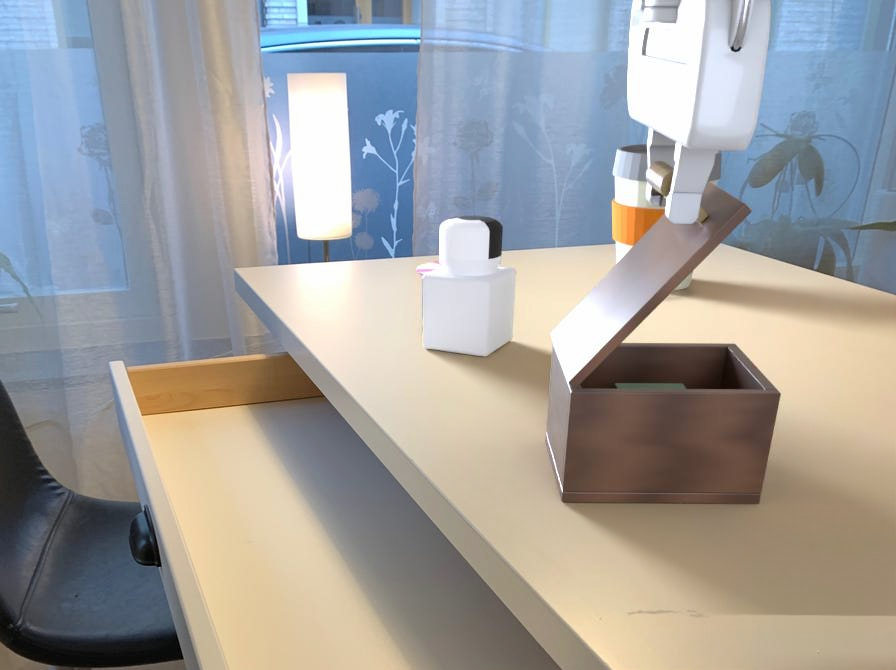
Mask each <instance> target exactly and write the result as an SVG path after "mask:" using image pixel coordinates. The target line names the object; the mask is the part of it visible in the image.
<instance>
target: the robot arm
mask: <svg viewBox="0 0 896 670" xmlns="http://www.w3.org/2000/svg"><path fill="white" fill-rule="evenodd" d="M771 8H772V5H771V1H770V0H632V5H631V12H630V26H629V42H628V43H629V46H628V62H627V63H628V64H627V88H626V89H627V90H626V91H627V109H628V114H629V117H630V118H631V119H632V120H634V121H636V122H638V123H640V124H642V125H643V126H646V127H647V128H648V134H647V142H646V144H647V155H648V168H649V166H650V165H651V164H652V163H654V162H657V161H663V162H665V163H667V164H668V165H670V166H671V167H673V168H674V174H673V179H672V184H671V189H668V194H667V198H666V197H664V196H663V195H662V194H660V193H659V192H658V191H657V190H655V189H654V188H653V187H652V186H650V185H649V184H648V183H647V191H646V200H647V201H648V202H649V203H650V204H651V205H653V206H658V207H659V206H664V207H666V208H665V215H666V217H667V218H668V219H669V220H670V221H671V222H672V223H674V224H693V223H694V222H696V221H697V219H698V216H699V210H700V204H701V198H702V193H703V191H704V189H705V186H706V183H707V181H708V178H709V176H710V173H711V171H712V168H713V166H714V161H715V155H716V151H722V152H728V151H729V152H741V151H745V150H746V149H748V147H749V145H750V143H751V141H752V139H753V137H754V134H755V131H756V128H757V125H758V119H759V113H760V107H761V100H762V94H763V87H764V80H765V74H766V73H765V72H766V65H767V57H768V50H769V49H768V48H769V42H770V32H771V16H772V15H771V14H772V9H771Z"/></svg>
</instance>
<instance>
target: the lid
mask: <svg viewBox="0 0 896 670" xmlns="http://www.w3.org/2000/svg"><path fill="white" fill-rule="evenodd" d="M673 174H674V168H673V167H671V166H670V165H668V164H667V163H665V162H663V161H657V162H654V163H652V164H651V165H650V166H649V168H648V169H647V172H646V180H647V182H648V184H649V185H650V186H652V187H653V188H654V189H655V190H657V191H658V192H659V193H660V194H662V195H663V196H664V197H666V198H667V194H668V189H671V184H672V179H673ZM751 213H752V209H751V208H750V207H749V206H748V204H746V203H745V202H743V201H742V200H741V199H738V198H737V197H735V196H734V195H732V194H730V193H729V192H727V191H725V190H724V189H722V188H721V187H719V186H718V185H717V184H716V185H714V184H712V183H711V182H709V181H707V183H706V186H705V189H704V191H703V193H702V198H701V204H700V210H699V216H698V219H697V221H696V222H694V223H693V224H674V223H672V222H671V221H670V220H669V219H668V218H667V217H666V215H665V213H664V214H663V216H662V217H661V218H660V219H659V220H658V221H657V222H656V223H655V224H654V225H653V226H652V227H651V228H650V229H649V230H648V231H647V232H646V233H645V234H644V235H643V237H642V238H641V239H640V240H639V241H638V242H637V243H636V244H635V245H634V246H633V247H632V248H631V249H630V250H629V251H628V252H627V253H626V254H625V255H624V256H623V258H622V259H621V260H620V261H619V262H618V263H617V264H615V265H614V266H613V267H612V268H611V269H610V270H608V272H607V273H606V274H605V275H604V276H603V277H602V279H600V281H598V282H597V284H596V285H594V287H593V288H592V289H591V290H590V291H589V292H587V294H586V295H585V296H584V297H583V298H582V300H581V301H579V302H578V303H577V305H576V306H574V308H573V309H572V310H571V311H570V312H569V313H568V314H567V315H566V316H565V317H564V318H563V319H562V321H560V322H559V324H558V325H556V327H555V328H554V329H553V330H552V331H551V332H550V333H549V334H550V337H551V340H552V344H553V343H554V345H555V348H556V351H557V353H558V356H559V359H560V361H561V364H562V367H563V369H564V372H565V375H566V377H567V380H568V383H569V384H570V385H571V386H572V387H574V388H575V389H576V388H577V387H578V386H579V385H580V384H581V383H582V382H583V381H584V380H585V379H586V378H587V377H588V376H589V375H590V374H591V373H592V372H593V371H594V370H595V369H596V368H597V367H598V366H599V365H600V364H601V363H602V362H603V361H604V360H605V359H606V358H607V357H608V356H609V355H610V354H611V353H612V352H613V351H614V350H615V349H616V348H617V347H618V346H619V345H620V344H621V343H624V341H625V340H626V339H627V338H628V337H629V336H630V335H631V334H632V333H633V332H634V331H635V330H636V329H637V328H638V327H639V326H640V325H641V324H642V323H643V322H644V321H645V320H646V319H647V318H648V317H649V316H650V315H651V314H652V313H653V312H654V311H655V310H656V309H657V308H658V306H660V305H661V304H662V303H663V302H664V300H666V298H668V297H669V296H670V295H671V293H673V292H674V291H675V290H674V289H675V288H676V287H677V286H678V285H679V284H680V283H681V282H682V281H683V280H684V279H685V278H686V277H687V276H688V275H689V274H690V273H691V272H692V271H693V272H694V271H695V269H697V268H698V266H700V264H702V262H704V260H706V258H708V257H709V255H710V254H711V253H713V251H714V250H715V249H717V247H718V246H719V245H720V244H721V243H722V242H723V241H724V240H725V239H726V238H727V237H728V236H729V235H730V234H732V232H733V231H734V230H735V229H736V228H737V227H738V226H739V225H740V224H742V222H743V221H744V220H746V219H747V217H748V216H749V215H750V214H751Z"/></svg>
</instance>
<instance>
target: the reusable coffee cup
mask: <svg viewBox="0 0 896 670" xmlns="http://www.w3.org/2000/svg"><path fill="white" fill-rule="evenodd" d="M616 148H617V149H616V154H615V159H614V163H613V168H612V174H611V175H613V176H614V196H615V197H614V198H613V199H612V200H611V222H612V223H611V224H612V226H611V227H612V229H611V230H612V231H611V232H612V240H613V241H615V259H616V262H615V263H616V264H617V263H618V262H619V261H620V260H621V259H622V258H623V256H624V255H625V254H626V253H627V252H628V251H629V250H630V249H631V248H632V247H633V246H634V245H635V244H636V243H637V242H638V241H639V240H640V239H641V238H642V237H643V235H644V234H645V233H646V232H647V231H648V230H649V229H650V228H651V227H652V226H653V225H654V224H655V223H656V222H657V221H658V220H659V219H660V218H661V217H662V216H663V214H664V213H665V208H666V207H664V206H659V207H658V206H653V205H651V204H650V203H649V202H648V201H647V200H646V191H647V183H648V182H647V180H646V172H647V169H648V155H647V143H639V144H627V145H621V146H619V147H616ZM722 156H723V151H716V155H715V161H714V166H713V168H712V171H711V173H710V176H709V178H708V181H709V182H711V183H712V184H714V185H716V186H717V183H718V181H719V180H720V179H721V177H722V175H721V174H722ZM616 264H615V265H616ZM693 273H694V270H693V271H692V272H691V273H690V274H689V275H688V276H687V277H686V278H685V279H684V280H683V281H682V282H681V283H680V284H679V285H678V286H677V287H676V288H675V289H674V290H673V291H679V290H684V289H686V288H689V286H690V285H691V281H692V277H693Z"/></svg>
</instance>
